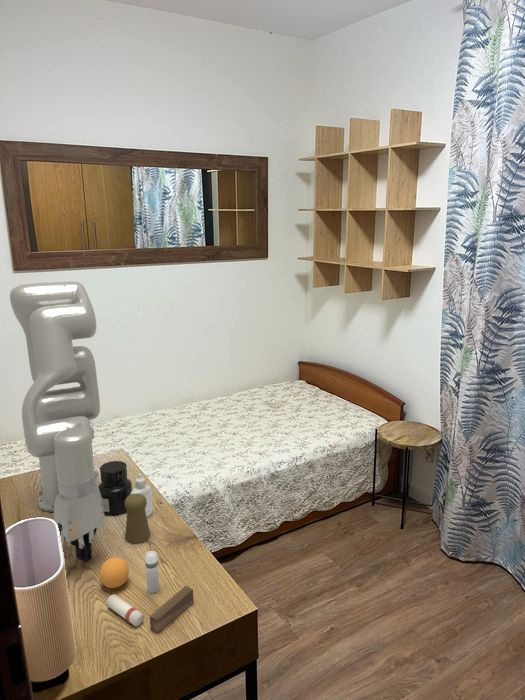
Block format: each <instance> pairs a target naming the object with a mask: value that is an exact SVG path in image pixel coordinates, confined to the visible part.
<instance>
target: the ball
mask: <svg viewBox="0 0 525 700" xmlns="http://www.w3.org/2000/svg"><path fill="white" fill-rule="evenodd" d="M129 573H130V568H129V565H128V563H127V561H125V560H124V559H123V558H121V557H119V556H118V557H116V556H114V557H110V558H108V559H107V560H105V561H104V562H103V563H102V565H101V566H100V570H99V579H100V582H101V584H102V585H103V586H105V587H107V588H109V589H116V588H119V587H121V586H122V585H124V584H125V582H126V581H127V579H128V577H129Z"/></svg>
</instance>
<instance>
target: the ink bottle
mask: <svg viewBox="0 0 525 700" xmlns="http://www.w3.org/2000/svg"><path fill="white" fill-rule="evenodd" d="M99 471H100V481H101V482H100V483H99V484H98V488H99V490H100V494H101V497H102V502H103V508H104V515H106V516H117V515H121V514H125V513H127V510H126V509H125V500H126V498H127V497H128V496H129V495H130V494H131V492H132V490H133V483H132V480H130V479H129V478H128V468H127V463H126V462H125V461H121V460H113V461H112V460H111V461H108V462H104V463H103V464H102V465H101V466H100V467H99Z"/></svg>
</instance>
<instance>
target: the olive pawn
mask: <svg viewBox="0 0 525 700" xmlns="http://www.w3.org/2000/svg"><path fill="white" fill-rule="evenodd" d="M146 504H147V501H146V498H145V496H144V495H142V494H139V493H136V494H131V495H129V496H128V497H127V498H126V500H125V509H126V510H127V512H126V523H125V525H126V526H125V537H124V539H125V542H127V544H130V545H141V544H143V543H146V542H147V541H149V540H150V538H151V532H150V527H149V522H148V521H149V520H148V517H147V516H146V512H145V507H146Z"/></svg>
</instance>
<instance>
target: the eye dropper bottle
mask: <svg viewBox="0 0 525 700" xmlns="http://www.w3.org/2000/svg"><path fill="white" fill-rule="evenodd" d="M134 482H135V487H134V488H132V492H131V494H136V493H139V494H142V495H144V496H145V498H146V501H147V504H146V507H145V512H146V516H147V518H149V517H150V516H151V515H152V514H153V512H154V507H153V504H154V503H153V494H152V492H153V490H152V487H151V486H150V485H148V484H146V478H145V477H143V475H142V473H138V475H137V477H136V478H135V481H134ZM131 494H130V495H131Z"/></svg>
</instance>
